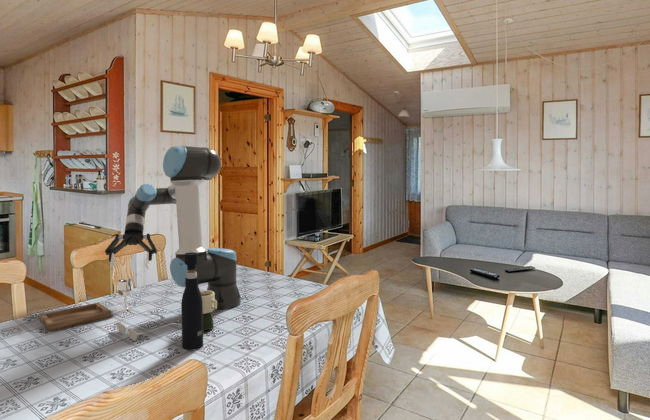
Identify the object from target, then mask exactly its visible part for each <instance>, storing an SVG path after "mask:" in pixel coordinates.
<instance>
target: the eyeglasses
mask: <svg viewBox="0 0 650 420" xmlns="http://www.w3.org/2000/svg"><path fill="white" fill-rule="evenodd" d="M149 315H151V313H147V314H143V315H142V317H144V316H149ZM153 315H155V316H157V317H159V318H160V319H162V320H163V319H166V317H165V316H164V315H161V314H157V313H153ZM139 317H141V315H139V316H138V318H139ZM136 318H137V316H136V317H132V318H131V320H132V319H136ZM128 320H130V318H128V319H124V320H122V321H120V320H119V321H117V322H116V323H115V324H116V326H117V331H118V332H119V333H120V334H122V335H125V334H126V332H127V333H128V336H129V339H131V340H133V341H135V342H136V341H137V339H138V336H139V335H142V334H144V333H148V332H151V331H155V330H157V329H161V328H163V327H164V328H165V327H168V326H170V325H178V326H180V328H181V329H182V323H169V324H166V325H164V326H161V327H157V328H154V329H150V330H146V331H143V332H137V331H136V330H135V329H132V328H128V327H126V326H125V325H124V324H123V323H122V322H125V321H128Z"/></svg>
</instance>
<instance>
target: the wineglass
mask: <svg viewBox="0 0 650 420" xmlns="http://www.w3.org/2000/svg"><path fill="white" fill-rule="evenodd" d="M116 292H117V295H119V296H120V297H123V301H124V308H121V309H119V312H121V313H128V312H131V311H132V310H133V309H132V308H131V307H127V300H128V298H127V297H128V296H131V294H133V292H134V285H133V282H132V279H130V278H123V279H119V280H118V281H117V286H116Z"/></svg>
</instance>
